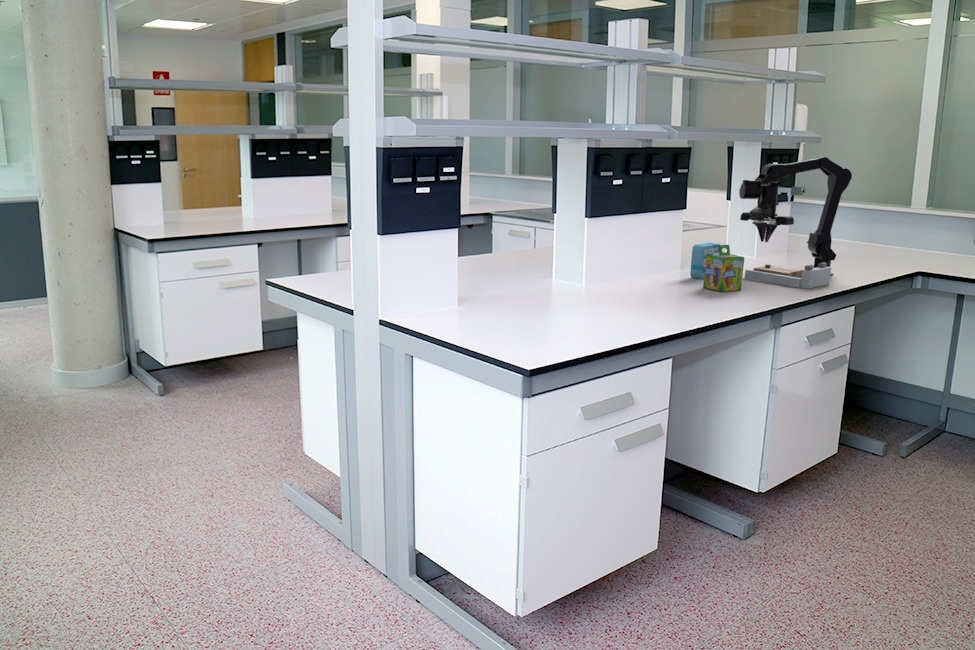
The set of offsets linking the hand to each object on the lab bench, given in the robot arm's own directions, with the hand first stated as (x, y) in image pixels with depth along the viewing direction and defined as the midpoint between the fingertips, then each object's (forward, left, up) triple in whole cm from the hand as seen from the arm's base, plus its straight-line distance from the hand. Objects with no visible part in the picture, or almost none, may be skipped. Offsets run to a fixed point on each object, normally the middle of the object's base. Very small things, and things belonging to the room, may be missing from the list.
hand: (764, 241), depth 293 cm
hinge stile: (+5, +24, -12) cm, 27 cm away
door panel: (+4, +9, -12) cm, 16 cm away
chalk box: (+38, +9, -12) cm, 41 cm away
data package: (+24, -8, -12) cm, 28 cm away
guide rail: (+12, +12, -12) cm, 21 cm away
